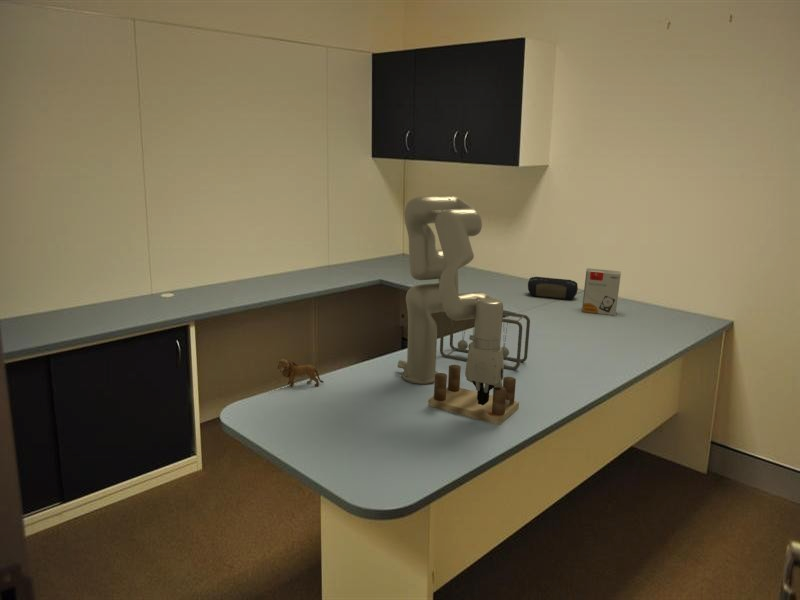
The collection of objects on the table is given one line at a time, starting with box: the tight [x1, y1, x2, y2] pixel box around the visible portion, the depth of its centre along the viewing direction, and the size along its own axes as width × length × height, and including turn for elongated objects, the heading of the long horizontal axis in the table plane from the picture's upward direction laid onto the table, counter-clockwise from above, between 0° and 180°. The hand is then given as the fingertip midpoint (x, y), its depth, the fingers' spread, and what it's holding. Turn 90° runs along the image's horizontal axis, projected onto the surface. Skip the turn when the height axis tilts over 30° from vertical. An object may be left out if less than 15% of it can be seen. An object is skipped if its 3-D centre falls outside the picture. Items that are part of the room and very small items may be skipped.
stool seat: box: [427, 364, 520, 425], centre depth 191 cm, size 23×14×10 cm, turn 58°
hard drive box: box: [581, 267, 622, 316], centre depth 304 cm, size 16×8×20 cm, turn 73°
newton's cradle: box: [439, 311, 531, 371], centre depth 233 cm, size 30×10×18 cm, turn 63°
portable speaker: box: [527, 276, 579, 300], centre depth 332 cm, size 25×10×10 cm, turn 70°
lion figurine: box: [276, 358, 324, 388], centre depth 205 cm, size 15×5×9 cm, turn 104°
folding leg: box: [492, 376, 517, 415], centre depth 186 cm, size 13×4×7 cm, turn 153°
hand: (482, 403), depth 186 cm, fingers closed
